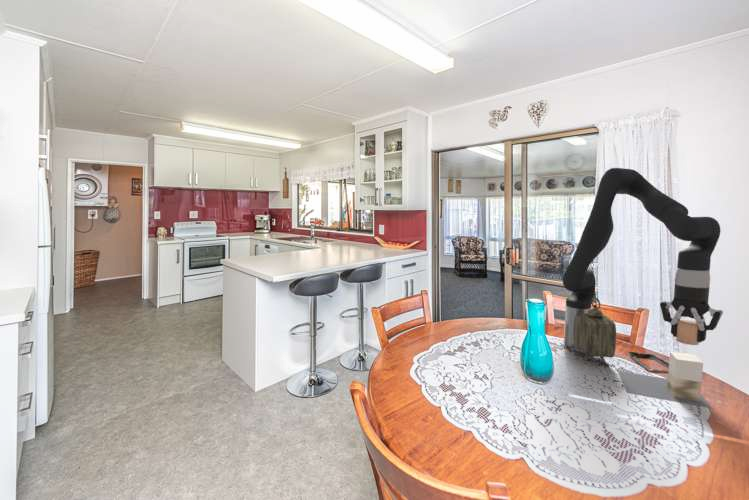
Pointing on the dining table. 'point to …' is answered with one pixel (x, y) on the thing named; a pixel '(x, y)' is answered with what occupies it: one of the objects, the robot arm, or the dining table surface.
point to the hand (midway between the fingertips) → (687, 338)
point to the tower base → (684, 388)
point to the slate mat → (654, 388)
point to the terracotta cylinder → (687, 332)
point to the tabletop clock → (595, 333)
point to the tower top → (685, 366)
